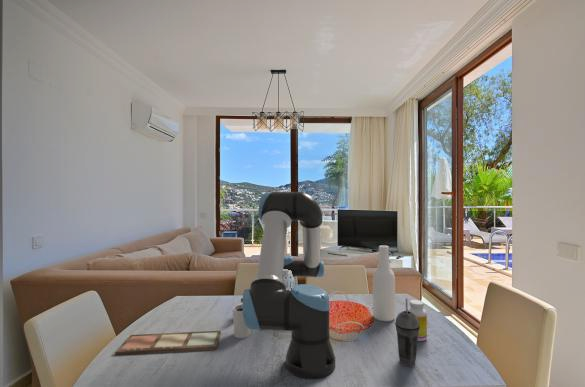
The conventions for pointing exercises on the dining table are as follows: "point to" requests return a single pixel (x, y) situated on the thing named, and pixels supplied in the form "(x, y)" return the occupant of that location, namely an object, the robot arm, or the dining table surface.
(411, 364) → the beverage cup
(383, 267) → the white bottle
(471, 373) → the dining table surface
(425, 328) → the supplement bottle
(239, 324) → the white coffee cup
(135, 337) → the tile board
